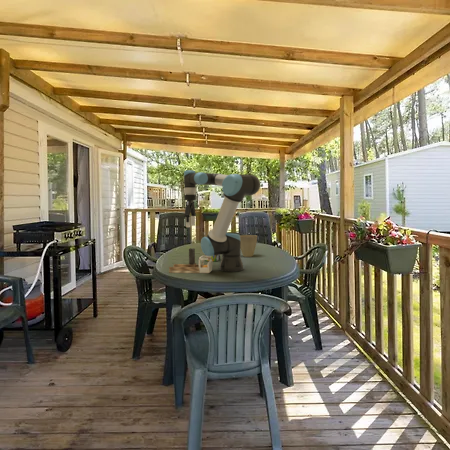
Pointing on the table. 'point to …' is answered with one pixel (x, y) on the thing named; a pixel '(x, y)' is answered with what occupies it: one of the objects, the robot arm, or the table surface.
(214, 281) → the table surface
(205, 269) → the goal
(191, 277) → the table surface
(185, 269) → the tray
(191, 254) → the sled
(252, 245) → the plant pot
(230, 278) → the table surface
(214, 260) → the chalk box
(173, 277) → the table surface
